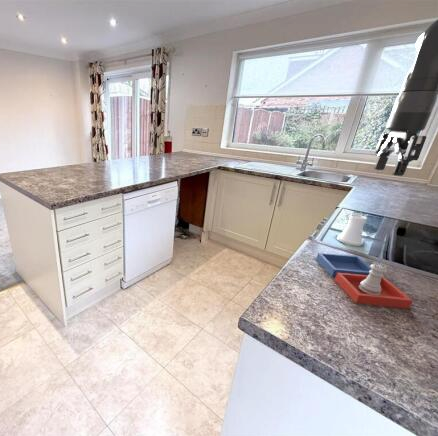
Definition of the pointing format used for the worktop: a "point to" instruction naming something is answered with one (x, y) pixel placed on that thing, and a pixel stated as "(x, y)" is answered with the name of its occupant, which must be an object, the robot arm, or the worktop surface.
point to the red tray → (386, 298)
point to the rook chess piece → (373, 279)
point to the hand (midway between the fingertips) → (387, 172)
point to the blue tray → (343, 264)
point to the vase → (353, 230)
